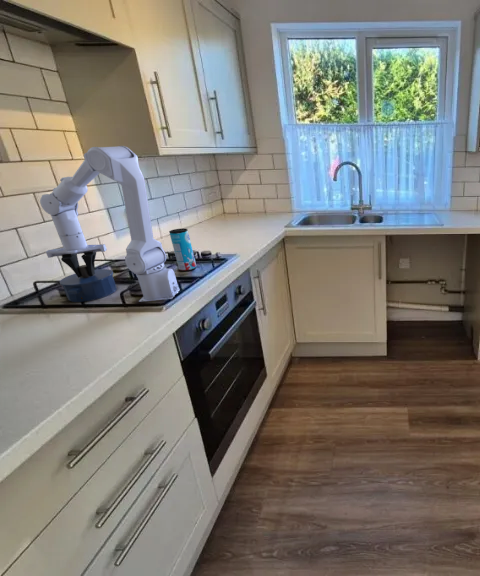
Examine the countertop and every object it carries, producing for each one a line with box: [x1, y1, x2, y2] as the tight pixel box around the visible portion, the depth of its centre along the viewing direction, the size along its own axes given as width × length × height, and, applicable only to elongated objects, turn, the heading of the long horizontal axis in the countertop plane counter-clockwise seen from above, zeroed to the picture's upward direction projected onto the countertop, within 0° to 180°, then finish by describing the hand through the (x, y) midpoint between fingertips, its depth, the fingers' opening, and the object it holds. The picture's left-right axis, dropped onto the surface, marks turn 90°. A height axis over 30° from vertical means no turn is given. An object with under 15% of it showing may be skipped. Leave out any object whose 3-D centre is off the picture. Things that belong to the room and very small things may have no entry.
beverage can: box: [168, 228, 197, 272], centre depth 133 cm, size 6×6×15 cm
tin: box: [62, 274, 118, 303], centre depth 116 cm, size 13×18×5 cm
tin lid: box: [59, 264, 114, 287], centre depth 114 cm, size 14×14×5 cm
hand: (86, 275), depth 114 cm, fingers closed on tin lid, 2 cm apart
